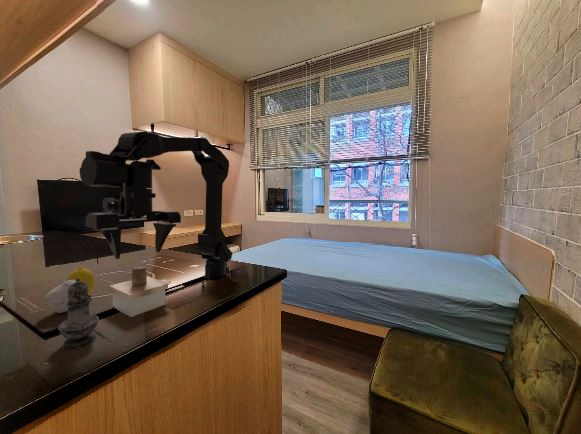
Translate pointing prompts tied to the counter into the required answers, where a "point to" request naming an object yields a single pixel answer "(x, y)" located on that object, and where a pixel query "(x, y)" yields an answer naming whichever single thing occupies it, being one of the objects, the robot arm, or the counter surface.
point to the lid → (138, 285)
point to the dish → (139, 303)
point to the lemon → (83, 277)
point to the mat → (170, 283)
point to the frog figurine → (59, 297)
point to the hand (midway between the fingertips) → (138, 255)
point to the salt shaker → (78, 318)
